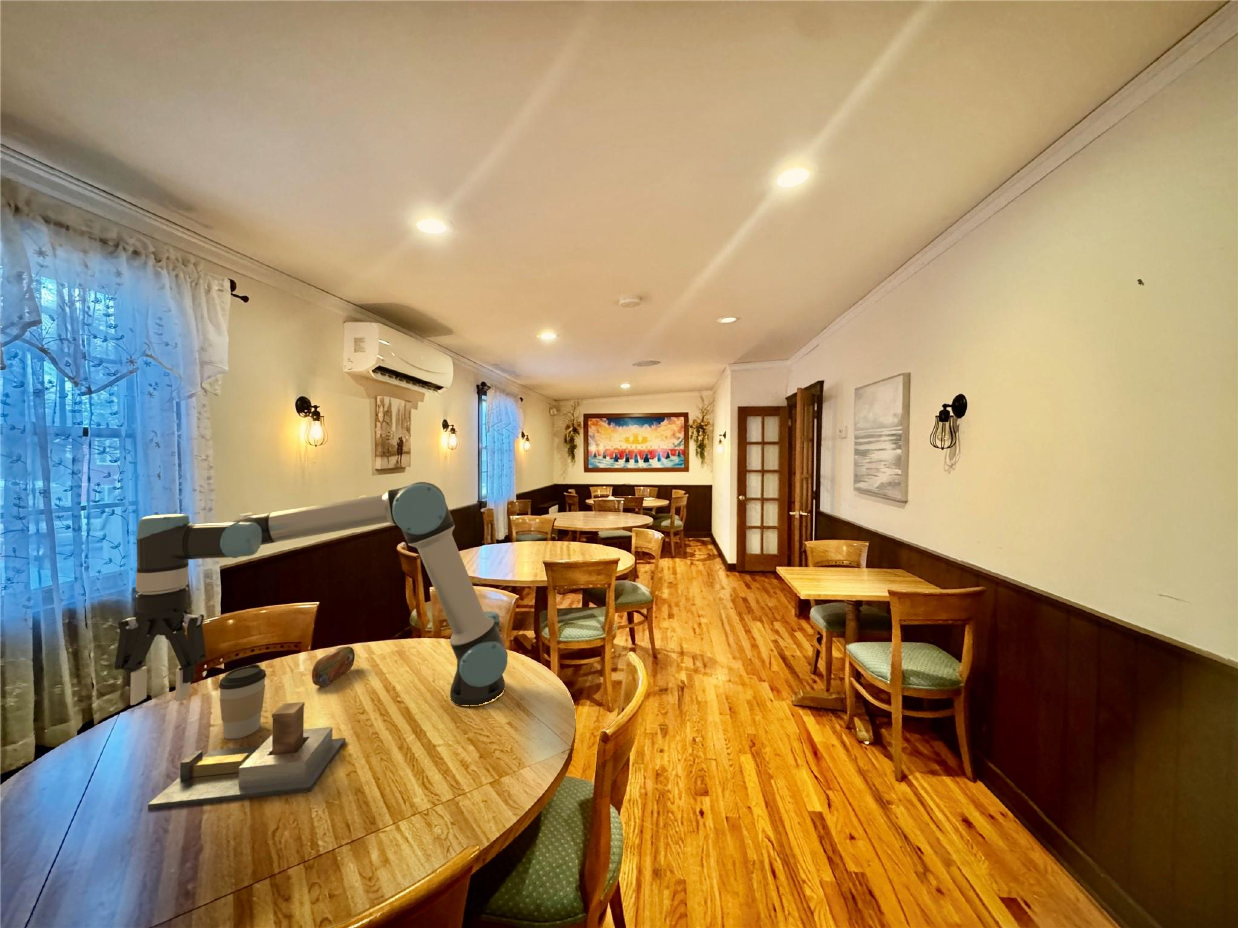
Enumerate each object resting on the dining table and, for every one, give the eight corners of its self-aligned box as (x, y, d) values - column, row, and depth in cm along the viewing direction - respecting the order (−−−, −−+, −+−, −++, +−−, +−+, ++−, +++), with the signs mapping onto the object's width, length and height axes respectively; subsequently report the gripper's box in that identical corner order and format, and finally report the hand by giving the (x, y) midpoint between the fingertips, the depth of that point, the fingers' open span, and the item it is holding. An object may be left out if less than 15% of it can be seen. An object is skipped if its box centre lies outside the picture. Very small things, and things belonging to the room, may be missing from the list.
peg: (303, 756, 97) (304, 701, 97) (293, 769, 93) (294, 712, 93) (282, 758, 96) (283, 703, 96) (271, 771, 92) (271, 714, 92)
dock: (345, 741, 104) (345, 720, 104) (310, 791, 88) (310, 766, 88) (210, 754, 99) (210, 732, 99) (148, 809, 83) (148, 783, 83)
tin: (319, 691, 126) (319, 662, 127) (309, 691, 127) (309, 662, 127) (355, 668, 141) (355, 642, 142) (346, 667, 142) (346, 641, 142)
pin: (250, 762, 95) (250, 745, 95) (238, 773, 91) (239, 756, 91) (193, 767, 93) (194, 751, 93) (180, 779, 89) (180, 762, 89)
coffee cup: (237, 744, 102) (238, 680, 103) (207, 739, 104) (208, 676, 104) (274, 722, 111) (275, 663, 111) (246, 717, 113) (247, 660, 113)
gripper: (230, 582, 96) (229, 686, 96) (122, 586, 92) (120, 694, 92) (204, 592, 88) (203, 705, 88) (86, 596, 85) (84, 714, 85)
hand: (160, 699), depth 90 cm, fingers open, 7 cm apart
